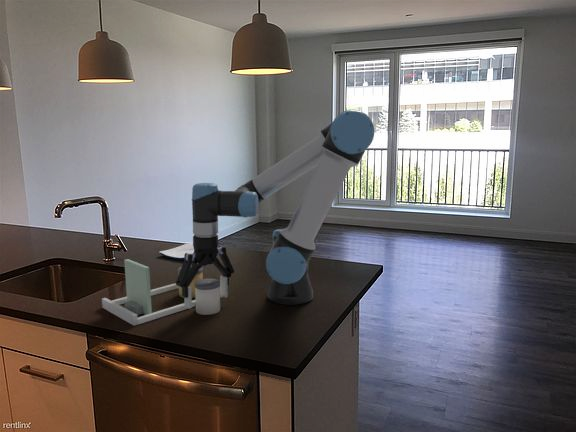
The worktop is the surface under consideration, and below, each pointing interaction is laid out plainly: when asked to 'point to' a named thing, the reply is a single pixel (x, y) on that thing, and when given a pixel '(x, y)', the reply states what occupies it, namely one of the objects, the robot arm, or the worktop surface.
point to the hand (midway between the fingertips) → (206, 301)
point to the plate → (179, 251)
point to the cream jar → (207, 296)
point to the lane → (134, 320)
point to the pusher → (137, 288)
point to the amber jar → (192, 285)
